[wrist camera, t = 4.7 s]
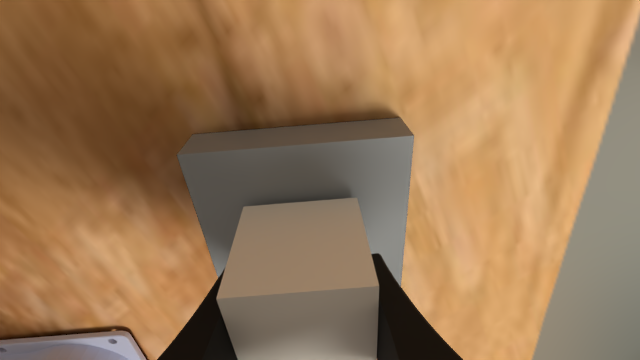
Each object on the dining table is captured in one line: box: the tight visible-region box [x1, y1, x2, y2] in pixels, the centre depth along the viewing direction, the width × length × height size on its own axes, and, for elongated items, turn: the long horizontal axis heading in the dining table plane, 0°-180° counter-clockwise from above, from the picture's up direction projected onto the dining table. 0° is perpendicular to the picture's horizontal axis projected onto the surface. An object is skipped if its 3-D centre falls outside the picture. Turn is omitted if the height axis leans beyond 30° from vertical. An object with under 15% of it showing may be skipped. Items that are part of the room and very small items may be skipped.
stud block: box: [177, 118, 414, 287], centre depth 14 cm, size 9×9×4 cm
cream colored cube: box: [216, 198, 379, 360], centre depth 12 cm, size 5×5×4 cm
